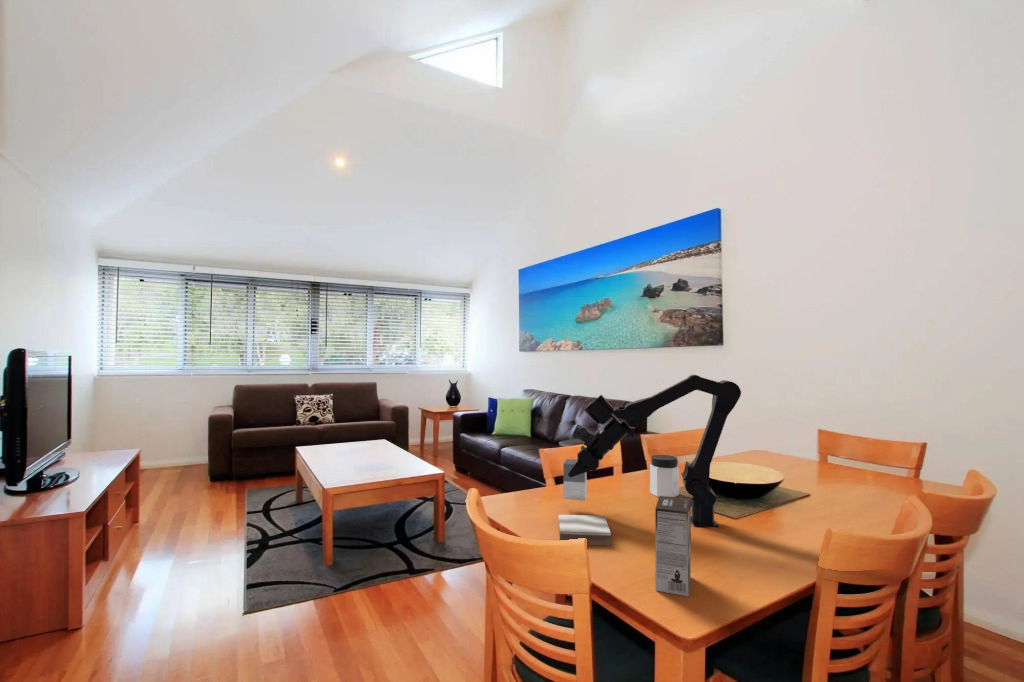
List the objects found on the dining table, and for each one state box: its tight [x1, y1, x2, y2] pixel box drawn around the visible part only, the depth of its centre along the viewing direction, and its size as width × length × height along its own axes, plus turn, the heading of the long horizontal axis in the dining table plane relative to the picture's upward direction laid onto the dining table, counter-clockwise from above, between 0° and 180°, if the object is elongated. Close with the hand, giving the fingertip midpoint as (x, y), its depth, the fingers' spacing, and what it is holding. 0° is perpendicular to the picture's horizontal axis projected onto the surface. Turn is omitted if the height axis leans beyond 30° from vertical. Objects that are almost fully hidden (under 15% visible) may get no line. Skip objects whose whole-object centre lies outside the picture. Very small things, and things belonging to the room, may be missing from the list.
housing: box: [562, 458, 588, 502], centre depth 140 cm, size 6×6×10 cm
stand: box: [558, 513, 612, 547], centre depth 121 cm, size 12×12×3 cm
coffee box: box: [654, 496, 692, 597], centre depth 96 cm, size 9×6×16 cm
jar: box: [649, 454, 680, 498], centre depth 157 cm, size 9×8×12 cm
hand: (570, 473), depth 140 cm, fingers closed on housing, 6 cm apart
